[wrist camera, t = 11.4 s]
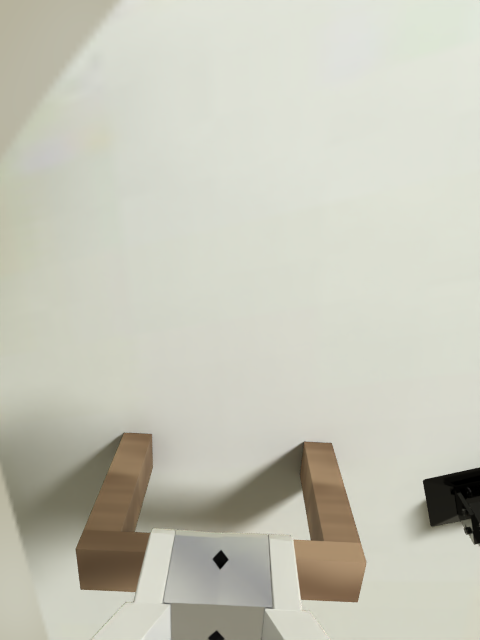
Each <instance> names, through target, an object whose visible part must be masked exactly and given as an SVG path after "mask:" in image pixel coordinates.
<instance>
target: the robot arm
mask: <svg viewBox="0 0 480 640" xmlns="http://www.w3.org/2000/svg"><path fill="white" fill-rule="evenodd" d="M91 640H331V639H330V638H329V636H328V635H327V634H326V632H325V631H324V630H323V628H322V627H321V625H320V624H319V623H318V621H317V620H316V619H315V617H314V616H313V615H312V613H311V612H310V611H305V610H302V605H301V597H300V589H299V581H298V573H297V565H296V557H295V549H294V541H293V538H292V536H291V535H276V534H268V535H267V534H259V533H231V532H222V533H217V532H204V531H190V530H173V529H159V528H153V529H152V531H151V533H150V536H149V540H148V544H147V548H146V552H145V556H144V560H143V564H142V568H141V572H140V576H139V580H138V584H137V589H136V593H135V597H134V601H133V602H125V603H124V604H123V606H122V607H121V608H120V609H119V610H118V611H117V612H116V613H115V614H114V615H113V616H112V617H111V618H110V619H109V620H108V621H107V623H106V624H105V625H104V626H103V627H102V628H101V629H100V630H99V631H98V632H97V633H96V634H95V635H94V636H93V637H92V639H91Z"/></svg>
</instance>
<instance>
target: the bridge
mask: <svg viewBox="0 0 480 640" xmlns="http://www.w3.org/2000/svg"><path fill="white" fill-rule="evenodd" d="M152 468H153V456H152V434H139V433H124V434H123V437H122V439H121V441H120V444H119V446H118V449H117V451H116V453H115V456H114V458H113V461H112V463H111V465H110V468H109V470H108V473H107V475H106V477H105V480H104V482H103V485H102V487H101V489H100V492H99V494H98V497H97V499H96V501H95V504H94V506H93V509H92V511H91V513H90V516H89V518H88V521H87V523H86V525H85V528H84V530H83V533H82V535H81V537H80V540H79V542H78V545H77V547H76V556H77V564H78V572H79V581H80V589H81V590H103V591H124V592H136V589H137V584H138V580H139V576H140V572H141V568H142V564H143V560H144V556H145V552H146V548H147V544H148V540H149V536H150V533H142V532H135V528H136V525H137V521H138V518H139V514H140V511H141V507H142V504H143V500H144V497H145V493H146V490H147V486H148V483H149V479H150V476H151V472H152ZM300 479H301V485H302V491H303V497H304V502H305V508H306V514H307V520H308V526H309V532H310V538H311V541H309V540H293V541H294V549H295V557H296V565H297V573H298V581H299V589H300V597H301V600H319V601H340V602H358V598H359V594H360V589H361V585H362V581H363V576H364V572H365V567H366V559H365V556H364V552H363V549H362V545H361V542H360V538H359V535H358V532H357V528H356V525H355V521H354V518H353V514H352V511H351V508H350V504H349V501H348V497H347V494H346V490H345V487H344V483H343V480H342V477H341V473H340V470H339V466H338V463H337V459H336V456H335V453H334V449H333V446H332V443H318V442H304V447H303V455H302V462H301V470H300Z"/></svg>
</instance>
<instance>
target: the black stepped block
mask: <svg viewBox="0 0 480 640" xmlns="http://www.w3.org/2000/svg"><path fill="white" fill-rule="evenodd" d="M423 484H424V490H425V496H426V502H427V507H428V513H429V519H430V525H431V526H432V527H433V526H438V525H443V524H448V523H453V522H458V521H461V523H462V524H463V526H464V531H465V534H466V535H469V536H470V538H471V540H472V542H473V543H474V544H479V546H480V468H475V469H471V470H466V471H462V472H457V473H452V474H448V475H443V476H438V477H434V478H429V479H425V480H423Z"/></svg>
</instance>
